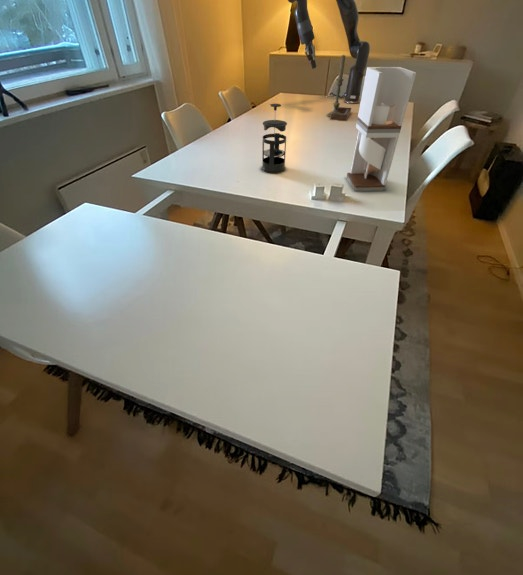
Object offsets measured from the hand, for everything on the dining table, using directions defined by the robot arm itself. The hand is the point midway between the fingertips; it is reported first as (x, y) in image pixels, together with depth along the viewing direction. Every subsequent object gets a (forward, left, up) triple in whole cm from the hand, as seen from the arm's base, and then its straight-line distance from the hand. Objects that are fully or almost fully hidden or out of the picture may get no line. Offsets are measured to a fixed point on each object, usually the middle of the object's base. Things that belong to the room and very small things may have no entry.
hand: (314, 67), depth 179 cm
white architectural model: (+102, -19, -23) cm, 106 cm away
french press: (+79, -47, -23) cm, 95 cm away
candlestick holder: (+9, +12, -23) cm, 28 cm away
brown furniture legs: (+11, +15, -23) cm, 30 cm away
